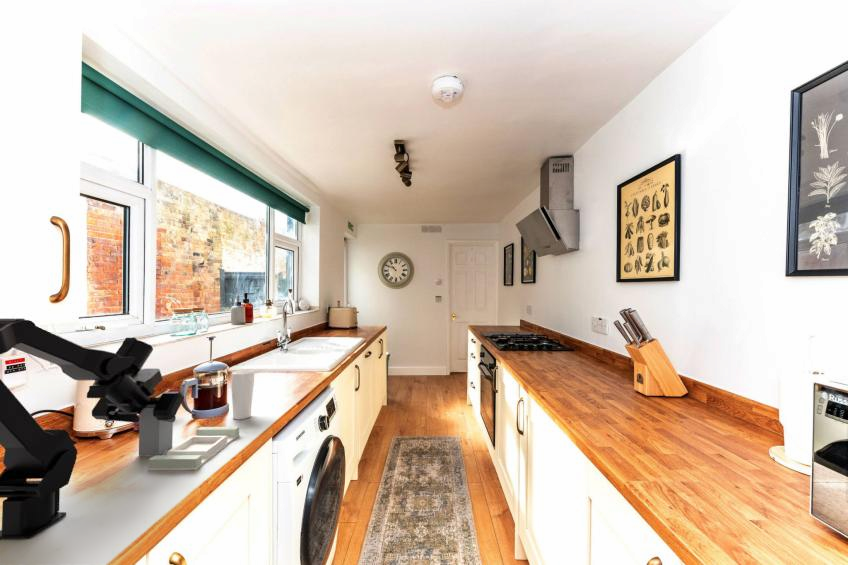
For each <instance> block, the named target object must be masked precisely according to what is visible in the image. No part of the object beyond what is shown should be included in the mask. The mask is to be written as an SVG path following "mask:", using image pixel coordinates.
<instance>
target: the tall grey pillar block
mask: <svg viewBox="0 0 848 565" xmlns="http://www.w3.org/2000/svg"><path fill="white" fill-rule="evenodd" d="M153 410H154V408H145V409H143V410H142V411H141V413H140V418H139V430H138V432H139V433H138V456H139V457H153V456H155V455H162V454H164V453H165V452H167V451H169V450H170V449H172V448H173V433H174V432H173V430H174V429H173V428H174V422H166V421H160V420H157V418H155V417H154V416H153Z"/></svg>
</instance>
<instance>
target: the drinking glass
mask: <svg viewBox="0 0 848 565" xmlns="http://www.w3.org/2000/svg"><path fill="white" fill-rule="evenodd" d="M254 386H255V371H254V370H253V369H239V370H235V371H232V372H231V375H230V390H231V391H230V392H231V399H232V400H231V403H232V418H233V419H234V420H235V421H236V420H246V419H249V418H250V417H251V416H252V404H253V396H254Z"/></svg>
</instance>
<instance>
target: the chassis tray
mask: <svg viewBox="0 0 848 565" xmlns="http://www.w3.org/2000/svg"><path fill="white" fill-rule="evenodd" d="M239 436H240V426H199V428H196V435H191V436H190V437H188V438H186V439H184V441H181V442H180V443H178V444H177V445H175V446H174V447H172V448H170V449H169V450H167V451H166V452H167V453H166V455H162V454H161V455H155V456H151V457H150V458H148V464H147V465H148V467H147V468H148V470H147V471H197V470H198V469H199V468H200V467H201V466H203V465H205V463H207V462H208V461H209V460H211V459H212V458H213V457H214V456H216V454H218V453H219V452H221V450H223V449H224V448H225V447H227V446H228V445H229V444H231V443H232V442H233V441H234V440H235V439H237V438H238V437H239Z"/></svg>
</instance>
